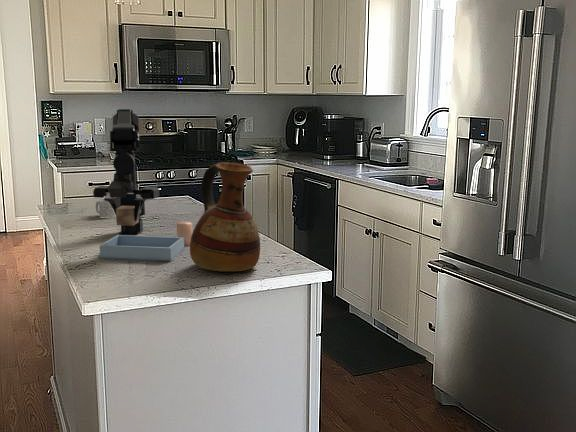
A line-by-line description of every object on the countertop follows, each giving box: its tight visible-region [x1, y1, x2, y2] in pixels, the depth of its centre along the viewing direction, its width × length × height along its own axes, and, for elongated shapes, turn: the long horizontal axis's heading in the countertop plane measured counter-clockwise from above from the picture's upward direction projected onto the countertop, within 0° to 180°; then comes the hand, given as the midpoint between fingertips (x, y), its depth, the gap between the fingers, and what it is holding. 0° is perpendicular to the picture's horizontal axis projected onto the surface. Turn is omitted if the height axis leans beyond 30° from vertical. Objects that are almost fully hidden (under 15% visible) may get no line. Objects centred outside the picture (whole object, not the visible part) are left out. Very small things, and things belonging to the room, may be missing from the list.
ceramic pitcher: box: [189, 161, 261, 273], centre depth 176 cm, size 20×20×30 cm
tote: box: [99, 234, 185, 262], centre depth 193 cm, size 22×14×4 cm, turn 83°
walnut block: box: [115, 206, 139, 226], centre depth 191 cm, size 5×5×5 cm
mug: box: [95, 198, 116, 218], centre depth 247 cm, size 10×7×7 cm
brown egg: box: [176, 220, 194, 247], centre depth 205 cm, size 5×5×7 cm
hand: (127, 220), depth 192 cm, fingers closed on walnut block, 5 cm apart
